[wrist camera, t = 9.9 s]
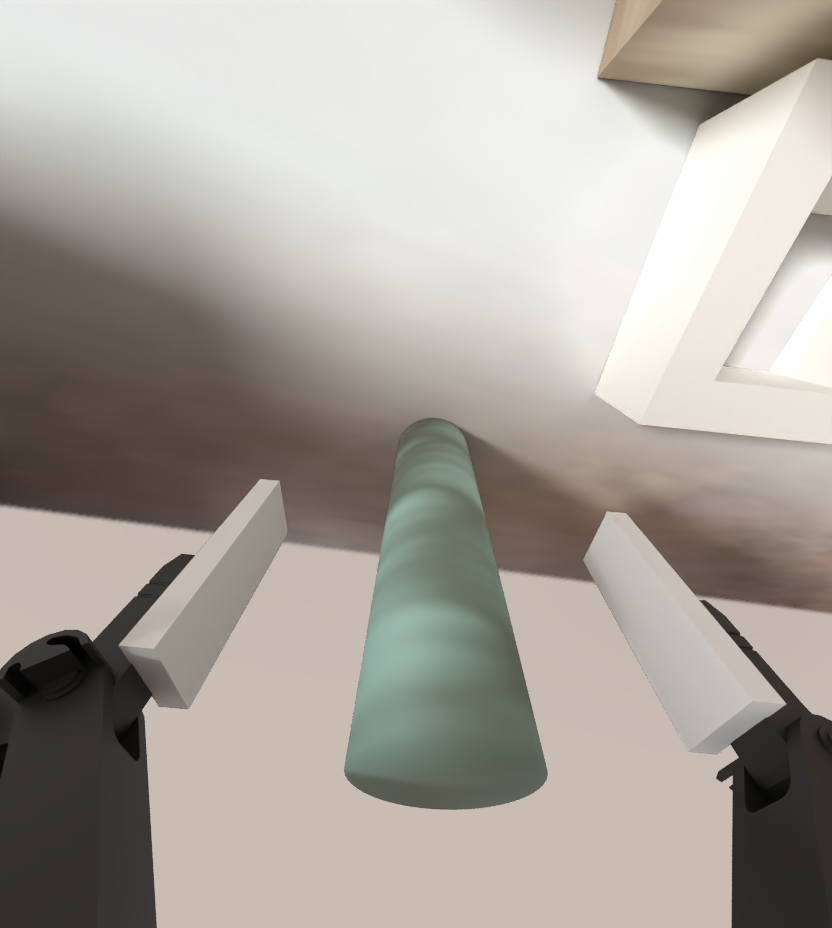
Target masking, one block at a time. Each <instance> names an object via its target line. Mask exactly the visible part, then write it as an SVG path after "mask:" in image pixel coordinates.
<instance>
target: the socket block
mask: <svg viewBox="0 0 832 928" xmlns="http://www.w3.org/2000/svg"><path fill="white" fill-rule="evenodd" d="M810 213H816V214H824V215H832V60H826V59H818V58H817V59H815V60H814V61H812V62H810V63H808V64H806V65H805V66H803V67H801V68H799V69H798V70H796V71H794V72H792V73H790V74H789V75H787V76H785V77H783V78H782V79H780V80H778V81H776V82H774V83H773V84H771V85H769V86H767V87H766V88H764V89H762V90H760V91H759V92H757V93H755V94H753V95H751V96H750V97H748V98H746V99H744V100H743V101H741V102H739V103H737V104H735V105H734V106H732V107H730V108H728V109H727V110H725V111H723V112H721V113H719V114H718V115H716V116H714V117H712V118H711V119H709V120H707V121H705V122H703V123H702V124H700V125H699V127H698V130H697V132H696V135H695V138H694V140H693V143H692V145H691V148H690V150H689V153H688V155H687V158H686V161H685V163H684V166H683V168H682V171H681V173H680V176H679V178H678V181H677V184H676V186H675V189H674V191H673V194H672V196H671V199H670V201H669V204H668V207H667V209H666V212H665V214H664V217H663V219H662V222H661V224H660V227H659V230H658V232H657V235H656V237H655V240H654V242H653V245H652V247H651V250H650V253H649V255H648V258H647V260H646V263H645V265H644V268H643V270H642V273H641V276H640V278H639V281H638V283H637V286H636V288H635V291H634V293H633V296H632V299H631V301H630V304H629V306H628V309H627V311H626V314H625V316H624V319H623V322H622V324H621V327H620V329H619V332H618V334H617V337H616V339H615V342H614V345H613V347H612V350H611V352H610V355H609V357H608V360H607V362H606V365H605V368H604V370H603V373H602V375H601V378H600V380H599V383H598V385H597V388H596V391H595V393H594V394H595V395H597V396H598V397H600V398H601V399H603V400H604V401H605V402H607V403H608V404H610V405H611V406H613V407H614V408H616V409H617V410H619V411H620V412H622V413H623V414H624V415H626V416H627V417H629V418H630V419H632V420H633V421H635V422H636V423H638V424H641V425H650V426H660V427H670V428H679V429H689V430H699V431H708V432H718V433H728V434H737V435H747V436H757V437H766V438H776V439H786V440H795V441H805V442H815V443H824V444H832V275H831V277H830V278H829V280H828V281H827V283H826V284H825V286H824V287H823V289H822V290H821V292H820V293H819V295H818V296H817V298H816V300H815V301H814V303H813V304H812V306H811V307H810V309H809V310H808V312H807V313H806V315H805V316H804V318H803V319H802V321H801V323H800V324H799V326H798V327H797V329H796V330H795V332H794V333H793V335H792V336H791V338H790V339H789V341H788V342H787V344H786V346H785V347H784V349H783V350H782V352H781V353H780V355H779V356H778V358H777V359H776V361H775V362H774V364H773V365H772V367H771V369H770V370H769V371H762V370H752V369H743V368H734V367H725V366H723V364H724V363H725V361H726V359H727V357H728V356H729V354H730V352H731V350H732V349H733V347H734V345H735V343H736V342H737V340H738V338H739V336H740V335H741V333H742V331H743V329H744V328H745V326H746V324H747V323H748V321H749V319H750V317H751V316H752V314H753V312H754V310H755V309H756V307H757V305H758V303H759V302H760V300H761V298H762V296H763V295H764V293H765V291H766V289H767V288H768V286H769V284H770V283H771V281H772V279H773V277H774V276H775V274H776V272H777V270H778V269H779V267H780V265H781V263H782V262H783V260H784V258H785V256H786V255H787V253H788V251H789V249H790V248H791V246H792V244H793V242H794V241H795V239H796V237H797V236H798V234H799V232H800V230H801V229H802V227H803V225H804V223H805V222H806V220H807V218H808V216H809V215H810Z"/></svg>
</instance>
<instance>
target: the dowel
mask: <svg viewBox="0 0 832 928" xmlns="http://www.w3.org/2000/svg"><path fill="white" fill-rule="evenodd" d="M344 772H345V776H346V777H347V779H348V781H350V783H351V784H352V785H354V786H355V787H356V788H357V789H359V790H361V791H362V792H364V793H366V794H368V795H371V796H373V797H376V798H378V799H381V800H384V801H388V802H392V803H396V804H401V805H406V806H411V807H419V808H429V809H452V810H454V809H455V810H456V809H474V808H484V807H490V806H496V805H501V804H505V803H509V802H513V801H515V800H519V799H521V798H524V797H526V796H528V795H530V794H532V793H534V792H535V791H536V790H538V789H539V788H540V787H541V786H542V785H543V784H544V783H545V781H546V779H547V775H548V774H547V768H546V763H545V759H544V755H543V751H542V747H541V743H540V739H539V735H538V731H537V727H536V723H535V719H534V715H533V710H532V706H531V702H530V698H529V694H528V690H527V686H526V682H525V678H524V674H523V670H522V666H521V662H520V658H519V654H518V650H517V645H516V641H515V637H514V634H513V629H512V625H511V621H510V617H509V613H508V609H507V605H506V601H505V597H504V593H503V589H502V584H501V581H500V576H499V572H498V568H497V564H496V560H495V556H494V552H493V548H492V544H491V540H490V536H489V532H488V528H487V524H486V519H485V515H484V511H483V507H482V503H481V499H480V495H479V491H478V487H477V483H476V479H475V475H474V471H473V467H472V463H471V458H470V454H469V450H468V446H467V442H466V439H465V437H464V435H463V433H462V432H461V430H460V429H459V428H458V427H457V426H455V425H454V424H452V423H451V422H449V421H446V420H443V419H438V418H428V419H423V420H420V421H417V422H415V423H413V424H412V425H411V426H409V427H408V428H407V429H406V430H405V431H404V433H403V434H402V436H401V438H400V441H399V444H398V450H397V456H396V462H395V468H394V474H393V480H392V486H391V492H390V498H389V504H388V510H387V516H386V522H385V528H384V534H383V540H382V546H381V552H380V558H379V564H378V570H377V576H376V582H375V588H374V594H373V600H372V606H371V612H370V618H369V624H368V629H367V635H366V642H365V647H364V654H363V660H362V666H361V671H360V678H359V684H358V689H357V695H356V701H355V707H354V713H353V719H352V725H351V731H350V738H349V743H348V749H347V755H346V761H345V768H344Z"/></svg>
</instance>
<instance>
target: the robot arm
mask: <svg viewBox="0 0 832 928" xmlns="http://www.w3.org/2000/svg"><path fill="white" fill-rule="evenodd" d="M287 534H288V532H287V525H286V519H285V512H284V506H283V499H282V493H281V486H280V481H276V480H265V479H260V480H259V481H258V482H257V484H256V485H255V486H254V487H253V488H252V489H251V491H250V492H249V493H248V494H247V495H246V496H245V498H244V499H243V500H242V501H241V502H240V503H239V505H238V506H237V507H236V508H235V509H234V511H233V512H232V513H231V514H230V515H229V516H228V518H227V519H226V520H225V521H224V522H223V523H222V525H221V526H220V527H219V528H218V529H217V530H216V532H215V533H214V534H213V535H212V536H211V537H210V539H209V540H208V541H207V542H206V543H205V544H204V546H203V547H202V548H201V549H200V550H199V552H198V553H197V554H196V555H187V554H181V555H179V556H178V557H176V558H175V559H173V560H172V561H170V562H169V563H167V564H166V565H164V566H163V567H162V568H161V569H160V570H159V571H158V573H156V574H155V576H154V577H153V578H152V579H151V580H150V582H149V584H146V585H145V586H144V588H142V590H141V591H140V592H139V593H138V596H137V597H134V598H133V599H132V600H131V601H130V602H129V603H128V605H127V606H126V607H125V608H124V609H123V610H122V611H121V612H120V613H119V614H118V615H117V616H116V618H114V620H113V621H112V622H111V623H110V624H109V625H108V626H107V627H106V628H105V629H104V630H103V631H102V632H101V634H100V635H99V636H98V637H97V638H96V639H95V640H94V641H93V642H92V641H91V640H90V638H89V637H88V636H87V634H85V633H83V632H81V631H79V630H64V631H60V632H57V633H53V634H50V635H47V636H45V637H43V638H41V639H39V640H37V641H35V642H33V643H31V644H30V645H28V646H26V647H25V648H24V649H22V650H21V651H19V652H18V653H16V654H15V655H14V656H13V657H12V658H11V659H10V660H9V661H8V662H7V663H6V664H5V665H4V666H3V667H2V668H1V670H0V928H157V927H156V926H157V925H156V909H155V891H154V874H153V858H152V841H151V824H150V805H149V789H148V773H147V772H148V771H147V754H146V738H145V720H144V715H143V712H142V709H143V708H144V706H145V705H146V703H147V702H148V700H149V699H150V698H151V696H152V697H153V698H154V700H155V701H156V703H157V704H158V706H159V707H169V708H180V709H189V708H190V706H191V704H192V702H193V701H194V699H195V697H196V695H197V693H198V692H199V690H200V688H201V686H202V685H203V683H204V681H205V679H206V677H207V676H208V674H209V672H210V670H211V668H212V667H213V665H214V663H215V661H216V660H217V658H218V656H219V654H220V653H221V651H222V649H223V647H224V645H225V644H226V642H227V640H228V638H229V637H230V635H231V633H232V631H233V630H234V628H235V626H236V624H237V622H238V621H239V619H240V617H241V615H242V614H243V612H244V610H245V608H246V606H247V605H248V603H249V601H250V599H251V598H252V596H253V594H254V592H255V590H256V589H257V587H258V585H259V583H260V582H261V580H262V578H263V576H264V574H265V573H266V571H267V569H268V567H269V566H270V564H271V562H272V560H273V558H274V556H275V555H276V553H277V551H278V550H279V548H280V546H281V544H282V542H283V541H284V539H285V537H286V535H287ZM583 561H584V563H585V565H586V567H587V568H588V570H589V572H590V574H591V576H592V577H593V579H594V581H595V583H596V585H597V587H598V588H599V590H600V592H601V594H602V596H603V598H604V599H605V601H606V603H607V605H608V607H609V609H610V610H611V612H612V614H613V616H614V618H615V619H616V621H617V623H618V625H619V627H620V629H621V630H622V632H623V634H624V636H625V638H626V640H627V641H628V643H629V645H630V647H631V649H632V651H633V652H634V654H635V656H636V658H637V660H638V661H639V663H640V665H641V667H642V669H643V671H644V672H645V674H646V676H647V678H648V679H649V682H650V683H651V685H652V687H653V689H654V691H655V693H656V695H657V696H658V698H659V700H660V702H661V704H662V705H663V707H664V709H665V711H666V713H667V715H668V716H669V718H670V720H671V722H672V724H673V726H674V727H675V729H676V731H677V733H678V735H679V737H680V738H681V740H682V742H683V744H684V746H685V748H686V749H687V751H688V752H694V753H706V754H718V753H719V752H721V751H722V750H723V749H725V748H726V747H728V746H729V745H730V744H731V746H732V747H733V749H734V750H735V752H736V753H737V755H738V757H739V758H738V759H737V760H735V761H733V762H732V763H730V764H729V765H727V766H726V767H725V768H723V769H721V770H720V771H719V772H718V774H717V777H716V778H717V779H718V780H719V781H721V782H723V781H724V780H726V779H727V778H729V777H730V776H732V775H733V785H731V786H730V787H729V788H730V789H731V790H732V791H733V829H732V834H733V835H732V843H733V844H732V928H832V721H830V720H828V719H826V718H824V717H822V716H819V715H814V714H811V712H810V711H808V709H807V708H806V707H805V706H804V705H803V704H802V703H801V702H800V701H799V700H798V698H796V696H795V695H794V694H793V693H792V691H791V690H790V689H789V688H788V687H787V686H786V685H785V684H784V683H783V681H782V680H781V679H780V678H779V677H778V676H777V675H776V674H775V672H774V671H773V670H772V669H771V668H770V666H769V665H768V664H767V663H766V662H765V661H764V660H763V659H762V657H761V656H760V655H759V654H758V653H757V652H756V651H753V649H752V648H753V647H752V646H751V645H750V644H749V643H748V641H747V640H746V639H745V638H744V637H742V636H740V632H739V631H738V630H737V629H736V628H735V627H734V626H733V624H732V623H731V622H730V621H729V620H728V619H727V618H726V616H725V615H723V614H722V613H721V612H719V611H718V610H717V609H716V608H714V607H713V606H712V605H711V604H709V603H708V602H707V601H704V600H699V599H698V598H697V597H696V596H695V595H694V593H693V592H692V591H691V590H690V589H689V587H688V586H687V585H686V584H685V583H684V581H683V580H682V579H681V578H680V577H679V576H678V574H677V573H676V572H675V571H674V570H673V568H672V567H671V566H670V565H669V564H668V562H667V561H666V560H665V559H664V558H663V557H662V555H661V554H660V553H659V552H658V551H657V549H656V548H655V547H654V546H653V545H652V543H651V542H650V541H649V540H648V539H647V538H646V536H645V535H644V534H643V533H642V532H641V530H640V529H639V528H638V527H637V526H636V524H635V523H634V522H633V521H632V520H631V519H630V517H629V516H628V515H627V514H626V513H618V512H607V513H606V515H605V517H604V519H603V521H602V523H601V525H600V527H599V529H598V531H597V533H596V535H595V537H594V539H593V541H592V543H591V545H590V547H589V549H588V551H587V553H586V555H585V557H584V559H583Z"/></svg>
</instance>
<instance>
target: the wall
mask: <svg viewBox="0 0 832 928" xmlns="http://www.w3.org/2000/svg"><path fill="white" fill-rule="evenodd" d="M817 58H818V59H826V60H832V0H617V1H616V5H615V9H614V13H613V17H612V21H611V25H610V29H609V33H608V37H607V40H606V44H605V48H604V52H603V56H602V60H601V64H600V68H599V72H598V76H597V77H599V78H607V79H616V80H625V81H634V82H642V83H651V84H660V85H669V86H677V87H686V88H695V89H704V90H713V91H721V92H730V93H739V94H748V95H753V94H755V93H757V92H759V91H760V90H762V89H764V88H766V87H767V86H769V85H771V84H773V83H774V82H776V81H778V80H780V79H782V78H783V77H785V76H787V75H789V74H790V73H792V72H794V71H796V70H798V69H799V68H801V67H803V66H805V65H806V64H808V63H810V62H812V61H814V60H815V59H817Z"/></svg>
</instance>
